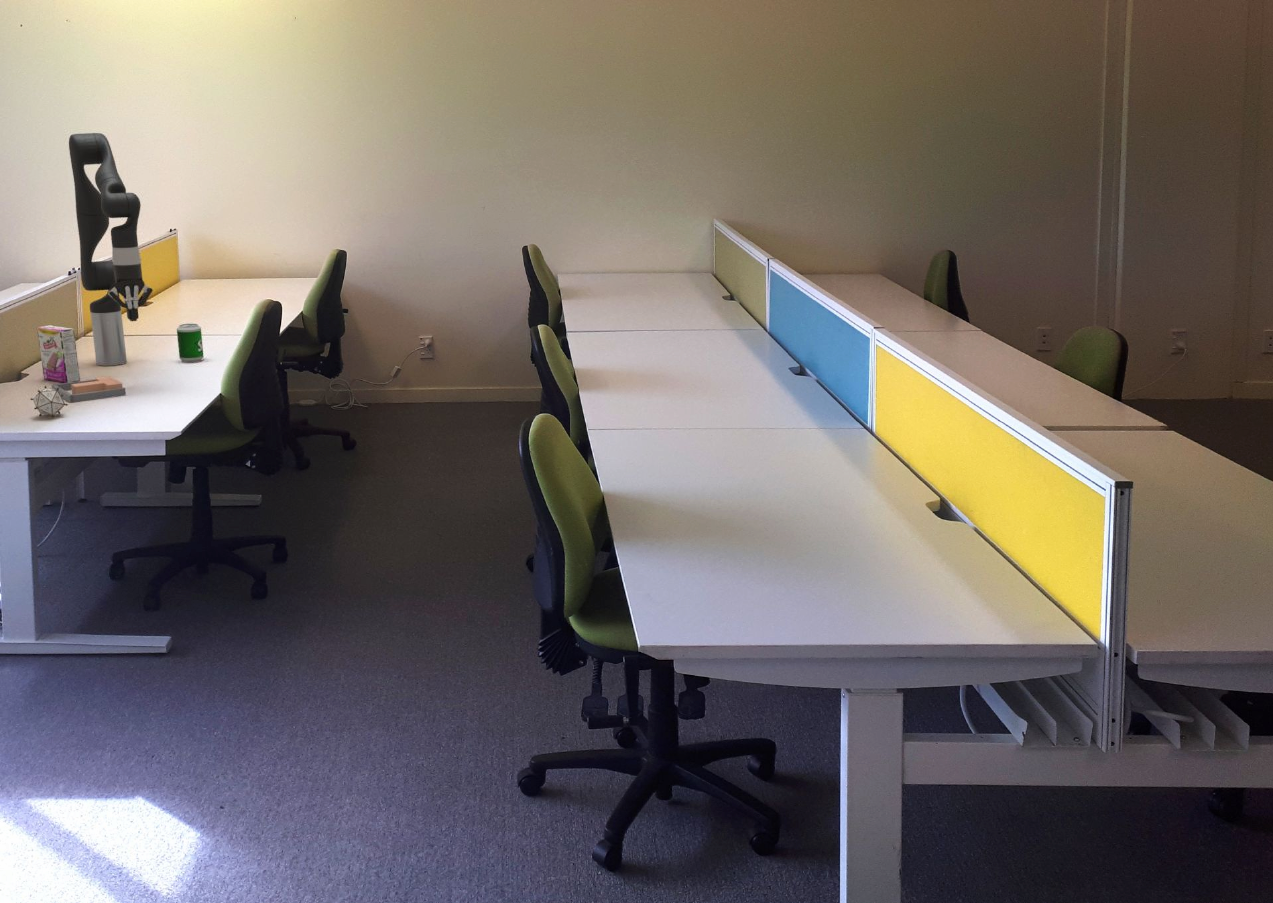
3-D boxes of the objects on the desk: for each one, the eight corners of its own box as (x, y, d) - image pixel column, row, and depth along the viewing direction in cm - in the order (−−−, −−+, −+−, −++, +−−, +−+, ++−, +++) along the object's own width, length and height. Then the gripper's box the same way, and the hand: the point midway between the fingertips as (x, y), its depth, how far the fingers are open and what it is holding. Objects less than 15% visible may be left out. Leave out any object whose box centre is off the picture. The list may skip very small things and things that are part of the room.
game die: (48, 428, 333) (40, 395, 336) (76, 417, 333) (68, 384, 335) (28, 419, 324) (20, 386, 327) (58, 408, 324) (50, 375, 327)
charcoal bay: (52, 391, 359) (51, 384, 359) (106, 384, 369) (105, 377, 368) (69, 402, 346) (69, 395, 345) (126, 395, 355) (125, 388, 355)
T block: (68, 391, 359) (67, 382, 358) (110, 386, 366) (109, 376, 366) (80, 399, 350) (79, 389, 349) (123, 393, 358) (122, 383, 357)
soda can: (196, 363, 399) (192, 327, 395) (175, 362, 400) (171, 326, 397) (208, 359, 406) (205, 323, 403) (187, 358, 407) (184, 322, 404)
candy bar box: (42, 380, 374) (35, 327, 369) (57, 377, 378) (50, 324, 374) (67, 384, 369) (60, 330, 364) (81, 380, 373) (74, 328, 369)
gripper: (145, 259, 363) (151, 316, 368) (99, 262, 355) (106, 321, 360) (154, 262, 357) (160, 320, 362) (107, 265, 349) (114, 325, 354)
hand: (133, 320), depth 361 cm, fingers closed
